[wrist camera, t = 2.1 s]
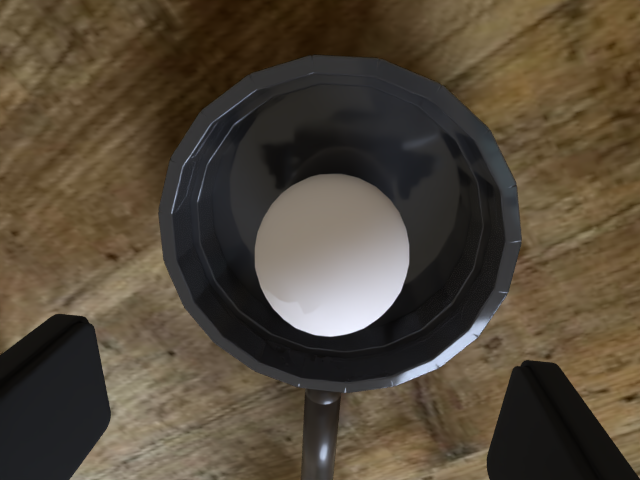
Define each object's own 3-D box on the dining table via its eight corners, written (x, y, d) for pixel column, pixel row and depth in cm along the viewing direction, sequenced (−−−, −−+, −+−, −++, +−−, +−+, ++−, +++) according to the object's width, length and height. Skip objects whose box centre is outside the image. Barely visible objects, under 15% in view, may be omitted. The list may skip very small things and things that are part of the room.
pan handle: (308, 362, 20) (303, 387, 18) (343, 366, 20) (341, 391, 18) (302, 480, 23) (297, 510, 22) (332, 484, 23) (329, 515, 22)
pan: (187, 53, 17) (138, 45, 13) (521, 71, 16) (569, 67, 12) (206, 326, 22) (175, 374, 19) (457, 352, 21) (477, 409, 18)
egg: (387, 286, 20) (400, 396, 13) (271, 267, 20) (222, 365, 13) (413, 170, 18) (446, 227, 11) (281, 150, 18) (229, 193, 11)
